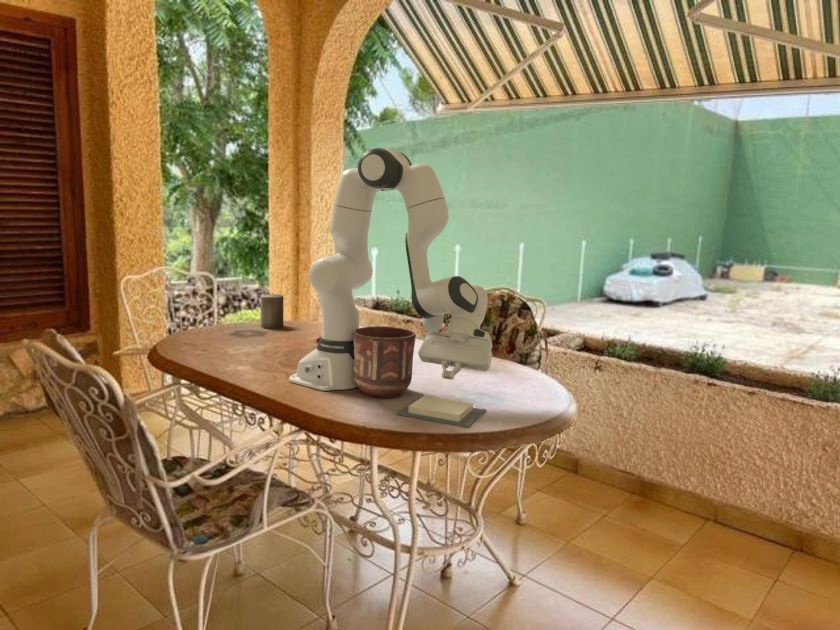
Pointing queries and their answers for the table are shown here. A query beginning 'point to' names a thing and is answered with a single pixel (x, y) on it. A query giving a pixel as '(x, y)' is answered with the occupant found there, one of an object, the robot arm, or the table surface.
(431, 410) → the tile
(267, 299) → the pillar candle
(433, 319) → the wineglass
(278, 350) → the table surface
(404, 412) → the mat
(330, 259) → the robot arm
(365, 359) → the pottery
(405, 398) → the table surface
